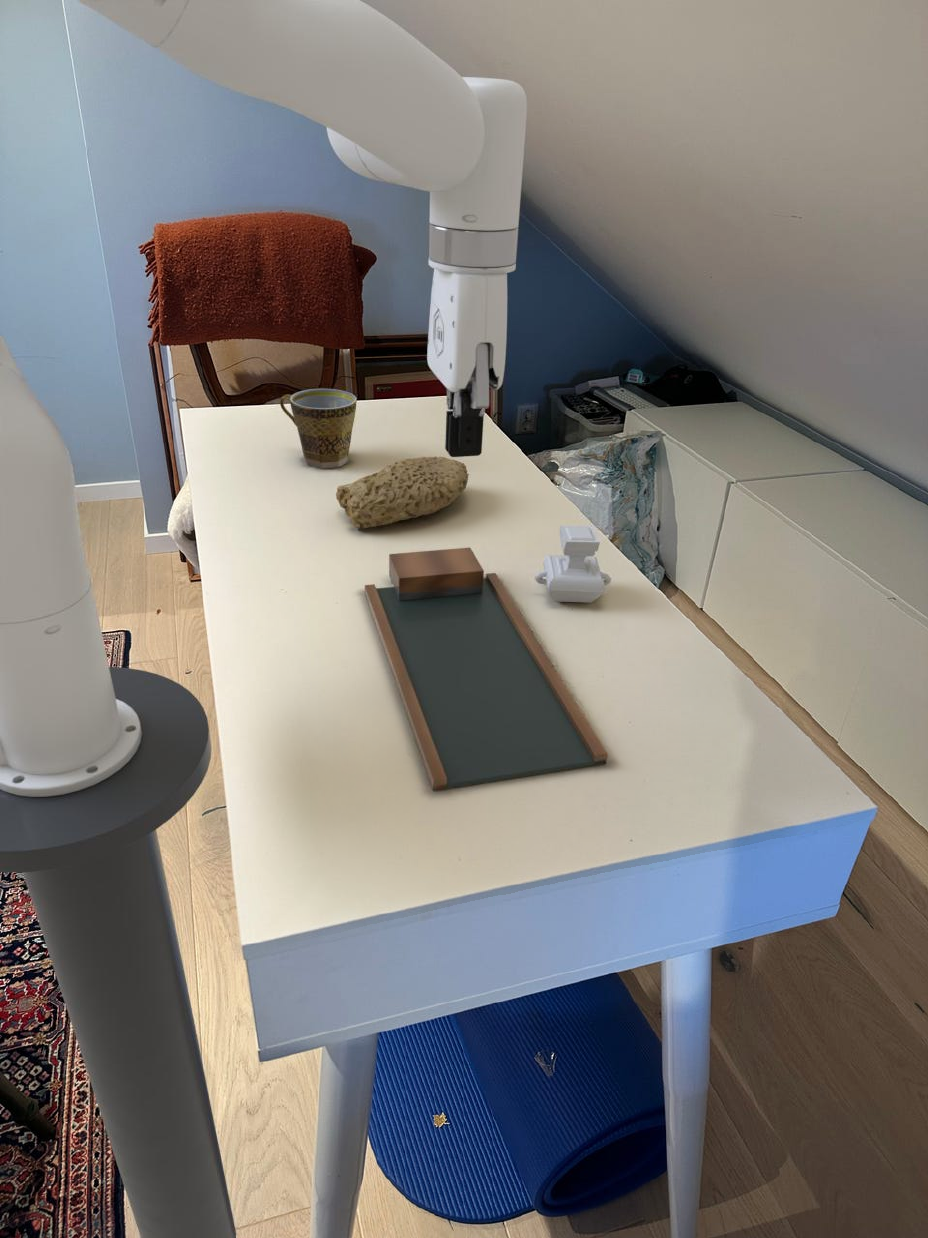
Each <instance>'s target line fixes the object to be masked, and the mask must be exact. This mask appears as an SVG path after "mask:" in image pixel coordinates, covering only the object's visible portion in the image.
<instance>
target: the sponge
mask: <svg viewBox="0 0 928 1238" xmlns="http://www.w3.org/2000/svg"><path fill="white" fill-rule="evenodd" d="M469 475H470V474H469V473H468V470H467V466H466V464H465V463H464V462H461V461H459V460H455V459H450V458H448V457H445V456H421V457H415V458H406V459H404V460H399V461H396V462H394V463H392V464H390V465H388V466H385V467H383V468H382V469H380V470H379V472H375V473H372V474H368V475H365V476H363V477H361V478H359V479H357V480H355V481H354V482H352V483H347V484H346V483H345V484H341V485H339V486H337V487H336V493H335V497H336V500H337V502H338V504H339V506H340V508H342V509H344V512H345V514H346V515H347V516H348V517H349V518H350V523H351V524H352V526H353V528H354V529H367V528H374V527H379V526H380V527H381V526H387V525H391V524H393V523H397V522H399V521H407V520H410V519H414V518H419V517H421V516H427V515H430V514H434V513H437V512H438V511H440V510H441V509H443V508H445V507H448V506H449V505H451V504H452V503H453V502H454V501H456V499H457V498H459V497H460V495H461V494H462V493H463V492H464V491H465V490H466V488H467V485H468V482H469Z"/></svg>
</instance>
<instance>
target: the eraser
mask: <svg viewBox="0 0 928 1238" xmlns="http://www.w3.org/2000/svg"><path fill="white" fill-rule="evenodd" d="M484 574H485V570H484V569H483V567H482V565H481V563H480V561H479V560H478V558H477V557H476V555H475V553H474V551H473V549H472V548H471V547H458V548H448V549H435V550H423V551H411V552H398V553H389V554H388V577H389V579H390V582H391V584H392V587H394V589H395V592H396V594H397V597H398V599H399V601H402V600H412V599H423V598H433V597H443V596H454V595H464V594H474V593H482V591H483V578H484Z"/></svg>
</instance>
